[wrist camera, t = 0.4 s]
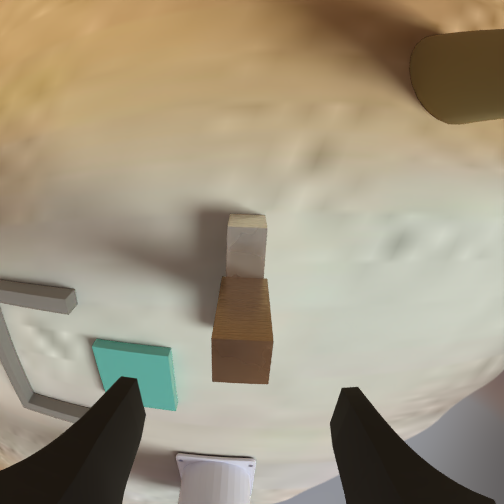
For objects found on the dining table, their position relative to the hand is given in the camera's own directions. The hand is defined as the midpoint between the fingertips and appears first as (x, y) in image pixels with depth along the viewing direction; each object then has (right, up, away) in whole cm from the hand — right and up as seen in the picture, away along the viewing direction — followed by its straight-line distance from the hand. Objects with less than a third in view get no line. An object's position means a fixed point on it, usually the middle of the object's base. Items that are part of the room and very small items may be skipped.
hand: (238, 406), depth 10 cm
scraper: (0, +4, +10) cm, 10 cm away
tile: (-8, -4, +13) cm, 16 cm away
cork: (+13, +16, +5) cm, 21 cm away
